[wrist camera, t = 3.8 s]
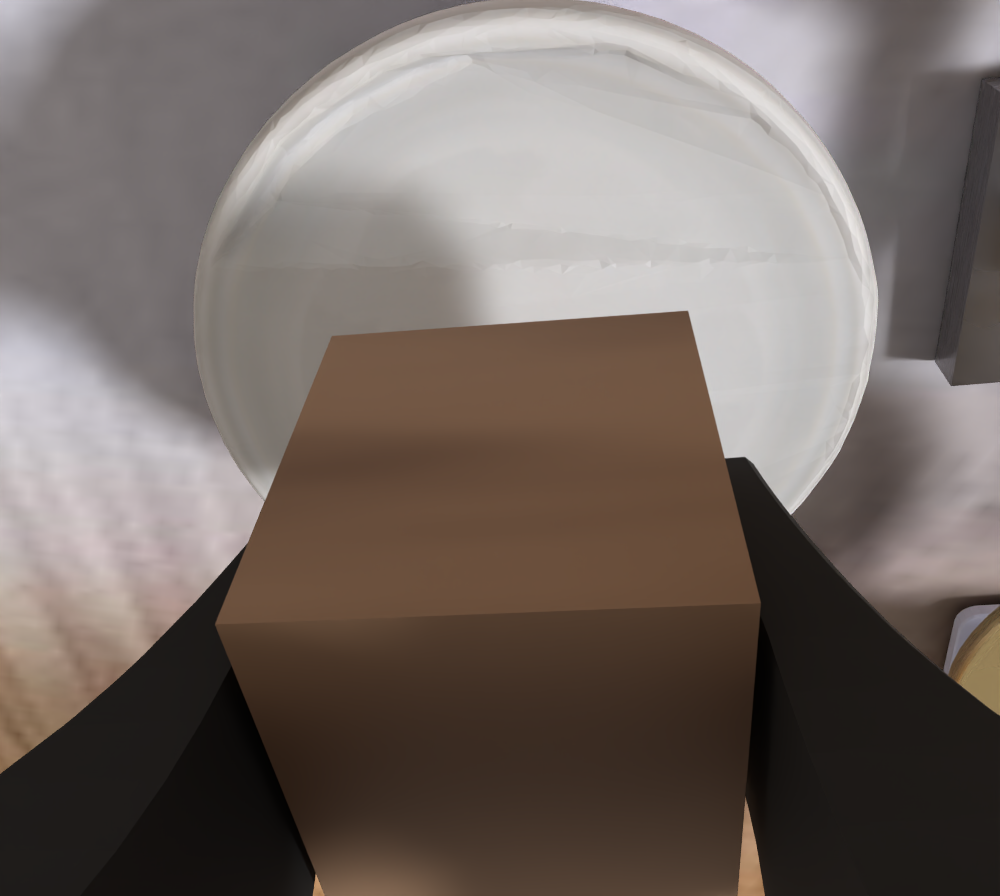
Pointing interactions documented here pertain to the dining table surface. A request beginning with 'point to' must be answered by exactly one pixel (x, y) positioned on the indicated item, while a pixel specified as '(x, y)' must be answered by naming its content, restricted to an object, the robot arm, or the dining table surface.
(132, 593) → the dining table surface
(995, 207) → the balance
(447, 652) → the block
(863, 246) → the ramekin
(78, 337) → the dining table surface
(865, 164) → the dining table surface
